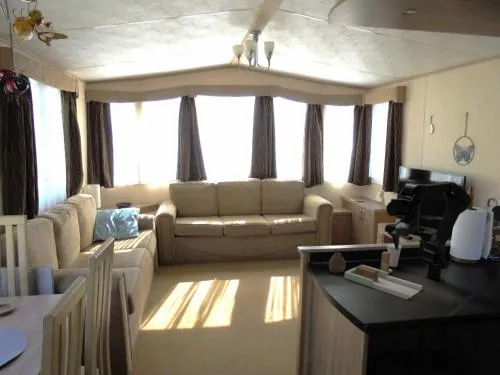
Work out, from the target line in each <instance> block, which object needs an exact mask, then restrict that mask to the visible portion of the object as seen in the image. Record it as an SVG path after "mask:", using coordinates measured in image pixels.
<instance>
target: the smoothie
mask: <svg viewBox="0 0 500 375" xmlns="http://www.w3.org/2000/svg"><path fill="white" fill-rule="evenodd" d="M386 248H387V252H389V253H390V263H389V267H390V266H391V268H397V267H398V263H399V259H400V254H401V250H402V245H400V244H399V247H398V250H396V249H395V245H394V243H388V244H386Z"/></svg>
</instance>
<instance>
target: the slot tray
mask: <svg viewBox="0 0 500 375" xmlns="http://www.w3.org/2000/svg"><path fill="white" fill-rule="evenodd" d="M362 265H363V266H366V267H369V268H372V269H375V270H379V271H378V280H376V281H375V282H373V280H371V279H368V278H365V277H362V276H359V275H356V267H353V268H351V269H348V270H346V271H344V279H346V280H349V281H353V282H354V283H355V282H356V283H358V284H361V285H362V286H363V285H364V286H367V287H369V288H372V289H375V290H378V291H381V292H385V293H387V294H390V295H393V296H396V297H398V298H402V299H404V300H408V299H410V298H412V297H413V296H415V295H416V294H417V293H419V292H420V291H422V290H423V285H421V284H418V283H414V282H412V281H409V280H405V279H401V278H398V277H395V276H393V275H392V276H391V275H389V274H390V273H389V272H385V271H382V270H381V269H378V268H375V267H371V266H368V265H366V264H365V265H364V264H362ZM388 273H389V274H388Z"/></svg>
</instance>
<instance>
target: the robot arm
mask: <svg viewBox="0 0 500 375" xmlns="http://www.w3.org/2000/svg"><path fill="white" fill-rule="evenodd" d="M441 193H442V194H443V195H444V197H445V198H446V201H445V206H446V210H445V213H444V215H443V218H442V220H441V222H440V223H439V225H438V228H437V230H436V231H430V230H424V231H419V230H420V226H419V221H420V220H421V217H420V208H421V205H425V201H424V200H423V199H424V198H427V196H429V195H435V194H441ZM471 203H472V197H471V195H470V194H469V193H468V192H467V191H466V190H464V189H463V188H462V187H460V186H459V185H458V184H457V183H456V182H453V181H448V180H445V181H441V182H433V183H426V184H425V183H424V184H420V183H413V182H408V183H405V184H404V186H403V188H402V189H401V190H400V192H399V193H398V195H397V197H396V198H390V201H389V202H388V203H387V205H386V208H385V210H386V213H387V214H388V216H389V217H398V216H399V217H401V220H400V222H398V224H396V223H388V224H386V225H385V226H384V232H385V233H387V235H389V236H390V237H391V239H392V243H393V244H394V245H395V249H396V250H398V247H399V245H400V236H403V238H405V237H406V238H407V237H409V236H410V235H412V236H417V237H420V239H419V240H418V241H419V245H418V246H419V247H418V251H417V252H418V254H417V255H418V256H419V257H420V256H421V258H422V262H423V263H425V264H426V265H427V266H426V274H425V276H423V278H424V279H428V280H431V281H435V282H438V283H441V282H442V281H443V280H445V277H442V275H443V270H445V269H447V268H449V264H450V263H449V261H448V260H447V258H446V257H445V256H446V253H447V250H446V244H447V241H448V240H449V238H450V235H451V234H452V232H453V229H454V227H455V224H456V222H457V221H458V219H459V217H460V215H461V214H463V213H464V212H465V211H467V210H468V208H469V206H470V205H471Z"/></svg>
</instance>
